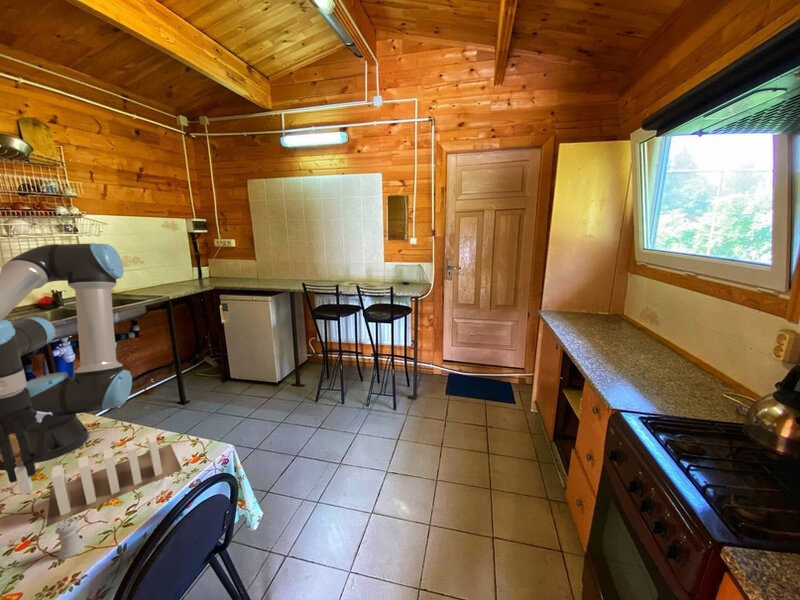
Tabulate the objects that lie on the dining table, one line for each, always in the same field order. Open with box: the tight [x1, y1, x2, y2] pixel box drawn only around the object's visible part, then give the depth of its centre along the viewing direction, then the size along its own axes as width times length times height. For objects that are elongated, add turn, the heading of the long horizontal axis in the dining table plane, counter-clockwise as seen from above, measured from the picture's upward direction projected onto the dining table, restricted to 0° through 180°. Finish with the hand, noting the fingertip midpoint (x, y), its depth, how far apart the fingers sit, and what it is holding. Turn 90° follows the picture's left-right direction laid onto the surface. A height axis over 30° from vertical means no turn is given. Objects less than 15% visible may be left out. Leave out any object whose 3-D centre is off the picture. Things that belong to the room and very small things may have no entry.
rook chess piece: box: [54, 517, 87, 560], centre depth 67 cm, size 4×4×8 cm
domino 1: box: [51, 463, 71, 515], centre depth 78 cm, size 2×5×10 cm, turn 44°
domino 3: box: [102, 447, 120, 494], centre depth 84 cm, size 2×5×10 cm, turn 44°
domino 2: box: [78, 455, 96, 505], centre depth 81 cm, size 2×5×10 cm, turn 44°
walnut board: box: [46, 443, 183, 528], centre depth 88 cm, size 26×16×2 cm, turn 134°
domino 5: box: [146, 432, 162, 476], centre depth 90 cm, size 2×5×10 cm, turn 44°
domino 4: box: [125, 439, 142, 485], centre depth 87 cm, size 2×5×10 cm, turn 44°
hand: (27, 490), depth 74 cm, fingers closed
